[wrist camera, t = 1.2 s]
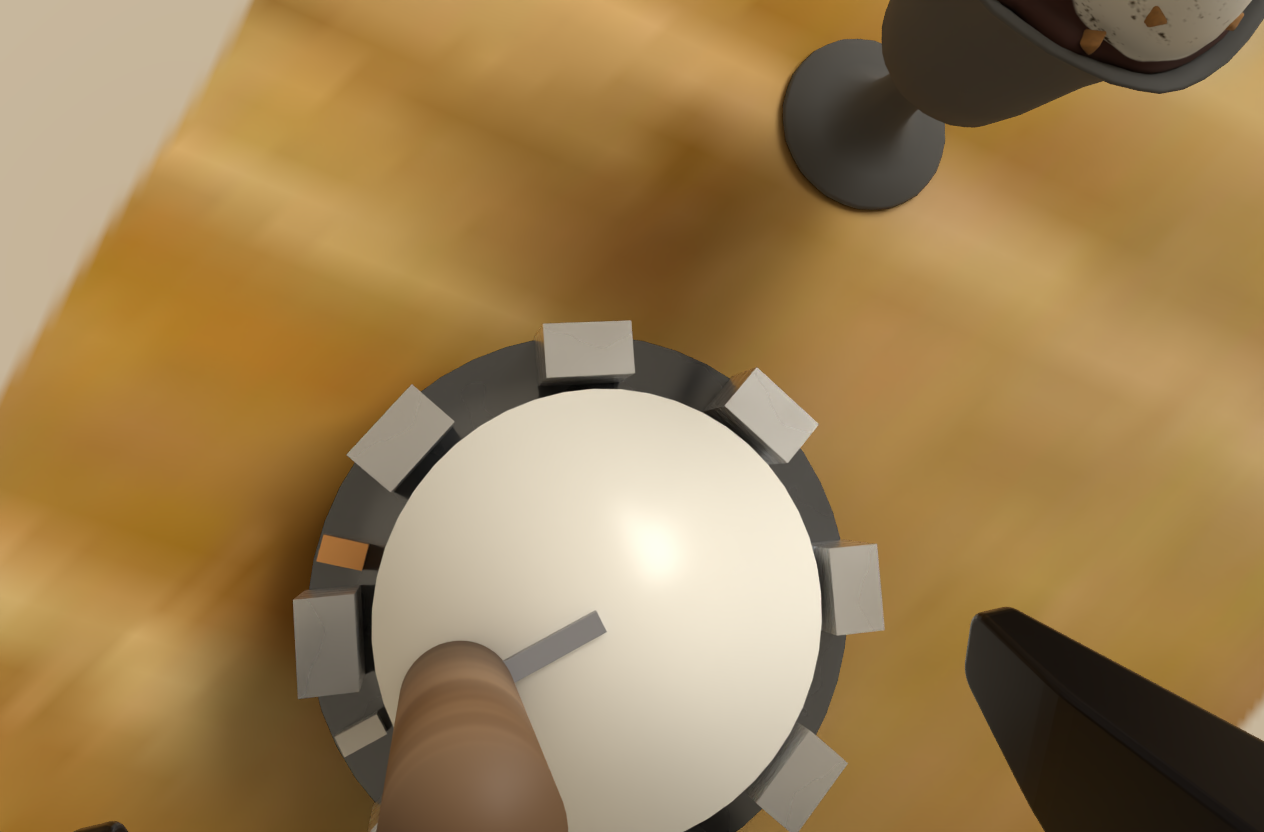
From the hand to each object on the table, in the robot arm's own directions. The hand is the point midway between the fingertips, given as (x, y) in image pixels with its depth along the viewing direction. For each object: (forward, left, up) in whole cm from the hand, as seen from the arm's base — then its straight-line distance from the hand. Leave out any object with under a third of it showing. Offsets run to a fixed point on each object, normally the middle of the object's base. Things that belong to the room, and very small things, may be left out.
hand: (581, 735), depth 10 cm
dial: (-1, -2, -12) cm, 12 cm away
